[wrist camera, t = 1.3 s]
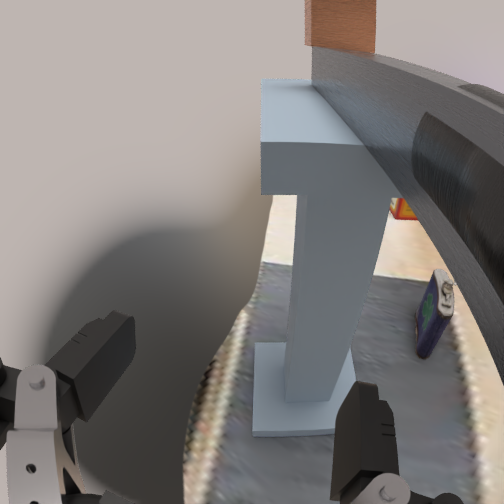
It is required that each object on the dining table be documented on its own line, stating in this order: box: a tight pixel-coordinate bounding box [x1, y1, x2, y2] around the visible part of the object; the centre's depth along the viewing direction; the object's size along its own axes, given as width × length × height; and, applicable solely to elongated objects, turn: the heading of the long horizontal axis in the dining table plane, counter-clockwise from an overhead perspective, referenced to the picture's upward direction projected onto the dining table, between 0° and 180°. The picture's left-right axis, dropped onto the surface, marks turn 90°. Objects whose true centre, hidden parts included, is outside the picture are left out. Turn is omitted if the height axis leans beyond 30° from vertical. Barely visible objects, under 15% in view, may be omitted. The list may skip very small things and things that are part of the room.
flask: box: [415, 269, 457, 359], centre depth 38 cm, size 9×3×11 cm, turn 161°
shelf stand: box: [252, 79, 403, 437], centre depth 26 cm, size 16×12×32 cm
